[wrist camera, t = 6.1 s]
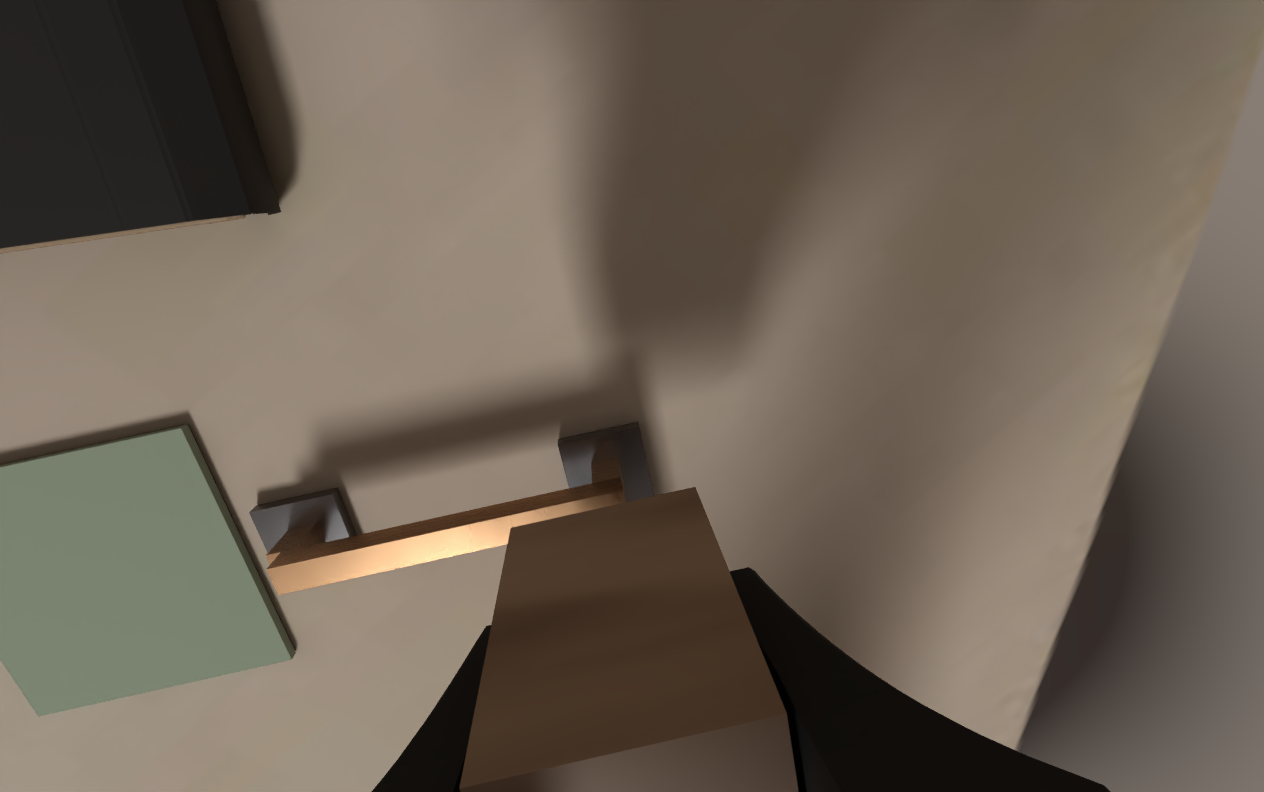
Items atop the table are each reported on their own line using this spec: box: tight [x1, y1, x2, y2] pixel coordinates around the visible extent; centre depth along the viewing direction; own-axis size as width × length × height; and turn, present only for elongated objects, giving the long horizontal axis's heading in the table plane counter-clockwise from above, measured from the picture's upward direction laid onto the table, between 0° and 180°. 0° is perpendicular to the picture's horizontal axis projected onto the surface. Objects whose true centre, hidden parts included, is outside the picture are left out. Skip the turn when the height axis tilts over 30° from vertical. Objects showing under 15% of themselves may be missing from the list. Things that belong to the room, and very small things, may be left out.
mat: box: [0, 424, 296, 716], centre depth 18 cm, size 8×8×1 cm
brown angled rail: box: [249, 422, 654, 595], centre depth 18 cm, size 9×11×2 cm
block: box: [459, 487, 799, 792], centre depth 11 cm, size 4×4×6 cm
